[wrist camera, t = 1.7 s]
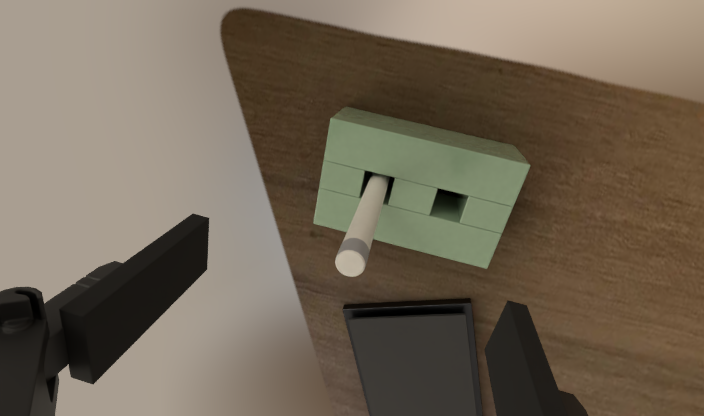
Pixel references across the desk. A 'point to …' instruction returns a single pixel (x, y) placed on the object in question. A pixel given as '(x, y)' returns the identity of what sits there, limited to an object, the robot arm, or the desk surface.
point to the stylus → (362, 228)
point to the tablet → (419, 309)
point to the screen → (415, 364)
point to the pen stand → (421, 184)
